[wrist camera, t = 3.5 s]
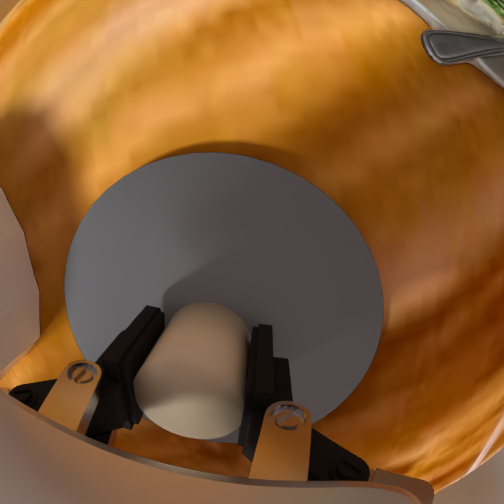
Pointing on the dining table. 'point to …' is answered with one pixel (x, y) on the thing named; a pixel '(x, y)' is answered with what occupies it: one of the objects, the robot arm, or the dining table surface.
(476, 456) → the dining table surface
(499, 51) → the salad plate
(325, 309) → the lid
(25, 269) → the bowl
